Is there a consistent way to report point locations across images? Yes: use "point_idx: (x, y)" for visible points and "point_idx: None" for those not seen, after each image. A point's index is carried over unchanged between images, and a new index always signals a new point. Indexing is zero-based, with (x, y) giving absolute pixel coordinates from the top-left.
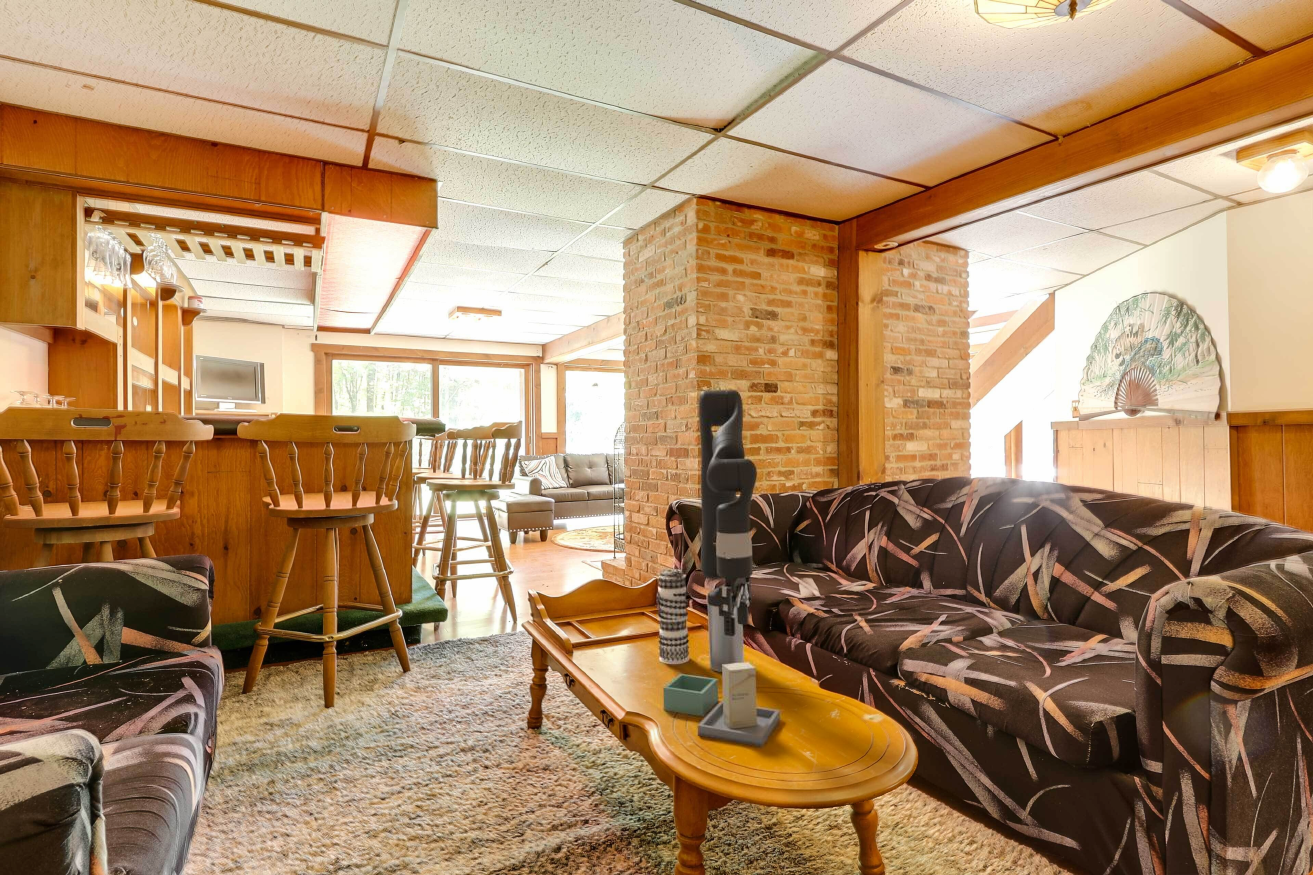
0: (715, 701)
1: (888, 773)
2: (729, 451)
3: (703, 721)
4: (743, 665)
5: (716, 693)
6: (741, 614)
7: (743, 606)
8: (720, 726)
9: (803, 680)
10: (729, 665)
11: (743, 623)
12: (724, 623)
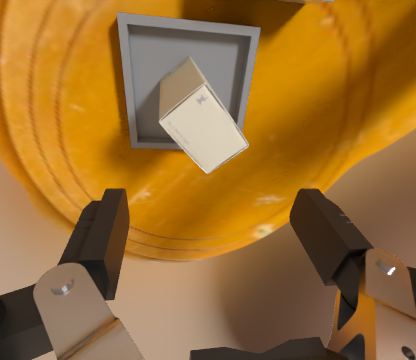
0: (290, 1)
1: (138, 257)
2: None
3: (143, 20)
4: (214, 144)
5: (305, 1)
6: (317, 232)
7: (339, 278)
8: (166, 55)
9: (391, 143)
10: (202, 107)
11: (295, 208)
12: (93, 228)
